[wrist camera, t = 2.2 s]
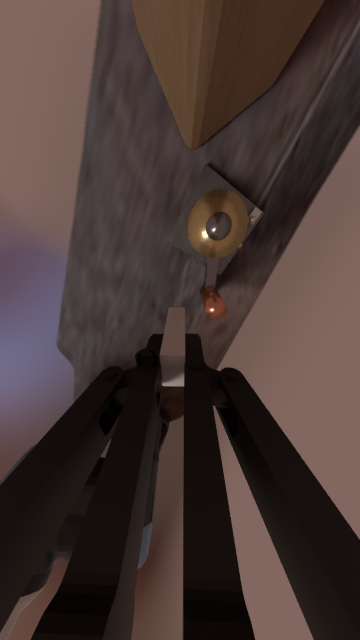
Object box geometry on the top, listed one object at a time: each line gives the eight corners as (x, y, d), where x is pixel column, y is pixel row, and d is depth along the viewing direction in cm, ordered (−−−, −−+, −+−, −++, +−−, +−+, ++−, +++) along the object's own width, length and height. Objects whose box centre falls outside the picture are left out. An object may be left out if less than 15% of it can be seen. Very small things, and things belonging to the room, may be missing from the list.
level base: (218, 273, 24) (222, 277, 22) (167, 240, 22) (166, 241, 20) (261, 214, 20) (269, 211, 18) (204, 167, 18) (207, 158, 16)
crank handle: (229, 298, 25) (244, 320, 19) (185, 297, 25) (185, 318, 19) (247, 193, 18) (279, 173, 12) (188, 192, 19) (190, 172, 12)
